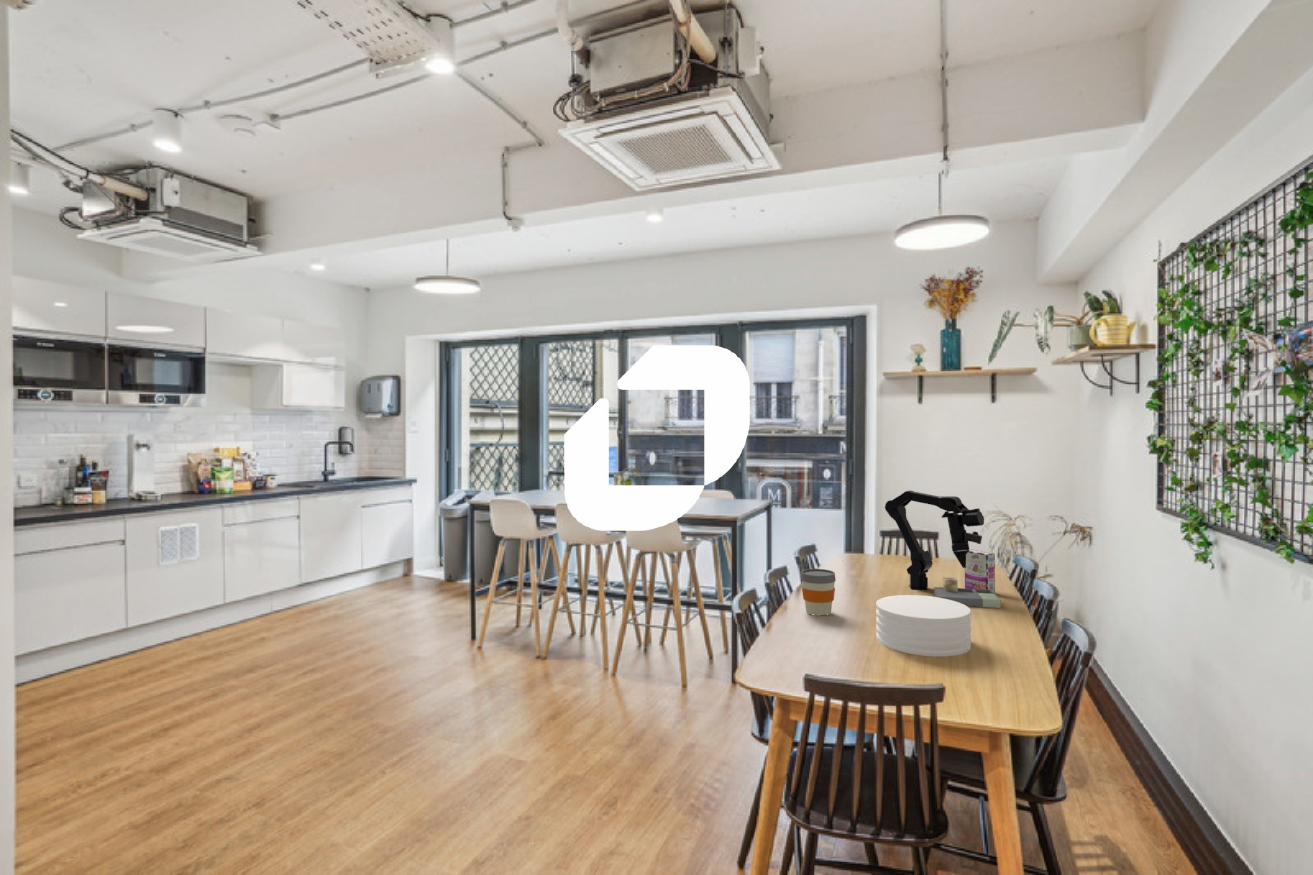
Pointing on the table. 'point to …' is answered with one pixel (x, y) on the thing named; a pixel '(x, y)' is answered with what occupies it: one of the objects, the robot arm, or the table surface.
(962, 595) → the trap deck
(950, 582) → the maple block
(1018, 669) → the table surface
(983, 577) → the candy bar box
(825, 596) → the reusable coffee cup
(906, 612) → the plate stack
